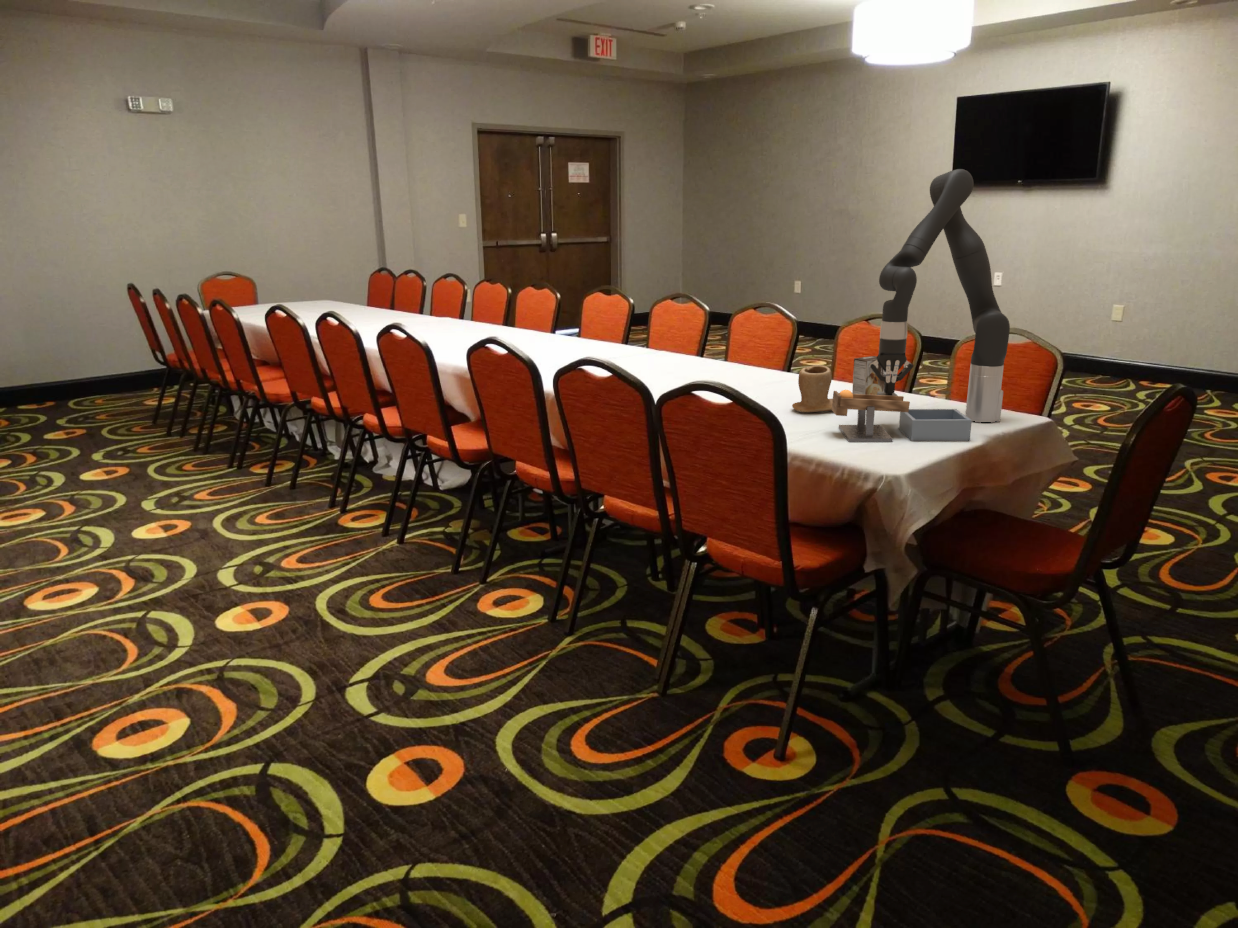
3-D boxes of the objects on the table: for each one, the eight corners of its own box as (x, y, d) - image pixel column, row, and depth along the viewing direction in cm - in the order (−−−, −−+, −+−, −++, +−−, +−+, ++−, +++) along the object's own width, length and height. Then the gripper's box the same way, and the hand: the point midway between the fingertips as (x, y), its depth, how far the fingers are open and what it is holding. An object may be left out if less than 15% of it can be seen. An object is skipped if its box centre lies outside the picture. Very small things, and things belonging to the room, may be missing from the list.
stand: (879, 428, 251) (881, 396, 248) (892, 442, 235) (894, 408, 233) (838, 428, 252) (840, 396, 249) (848, 442, 236) (850, 408, 234)
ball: (852, 401, 243) (851, 387, 242) (854, 404, 239) (853, 390, 238) (838, 402, 243) (837, 389, 242) (840, 405, 240) (839, 392, 238)
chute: (892, 405, 254) (894, 387, 253) (908, 419, 237) (910, 400, 235) (825, 402, 255) (827, 384, 254) (836, 416, 238) (838, 396, 236)
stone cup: (800, 417, 266) (802, 370, 262) (788, 408, 278) (790, 363, 273) (846, 414, 268) (849, 368, 264) (832, 406, 279) (834, 361, 275)
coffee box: (871, 402, 284) (874, 355, 279) (885, 406, 278) (888, 358, 274) (850, 405, 280) (853, 357, 275) (864, 409, 274) (867, 360, 270)
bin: (954, 428, 248) (955, 408, 247) (969, 441, 235) (971, 420, 233) (898, 428, 249) (900, 409, 248) (911, 441, 236) (913, 420, 234)
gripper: (913, 334, 248) (908, 392, 253) (867, 334, 249) (863, 392, 254) (919, 338, 241) (914, 397, 246) (873, 338, 242) (868, 397, 247)
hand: (888, 394), depth 250 cm, fingers closed
